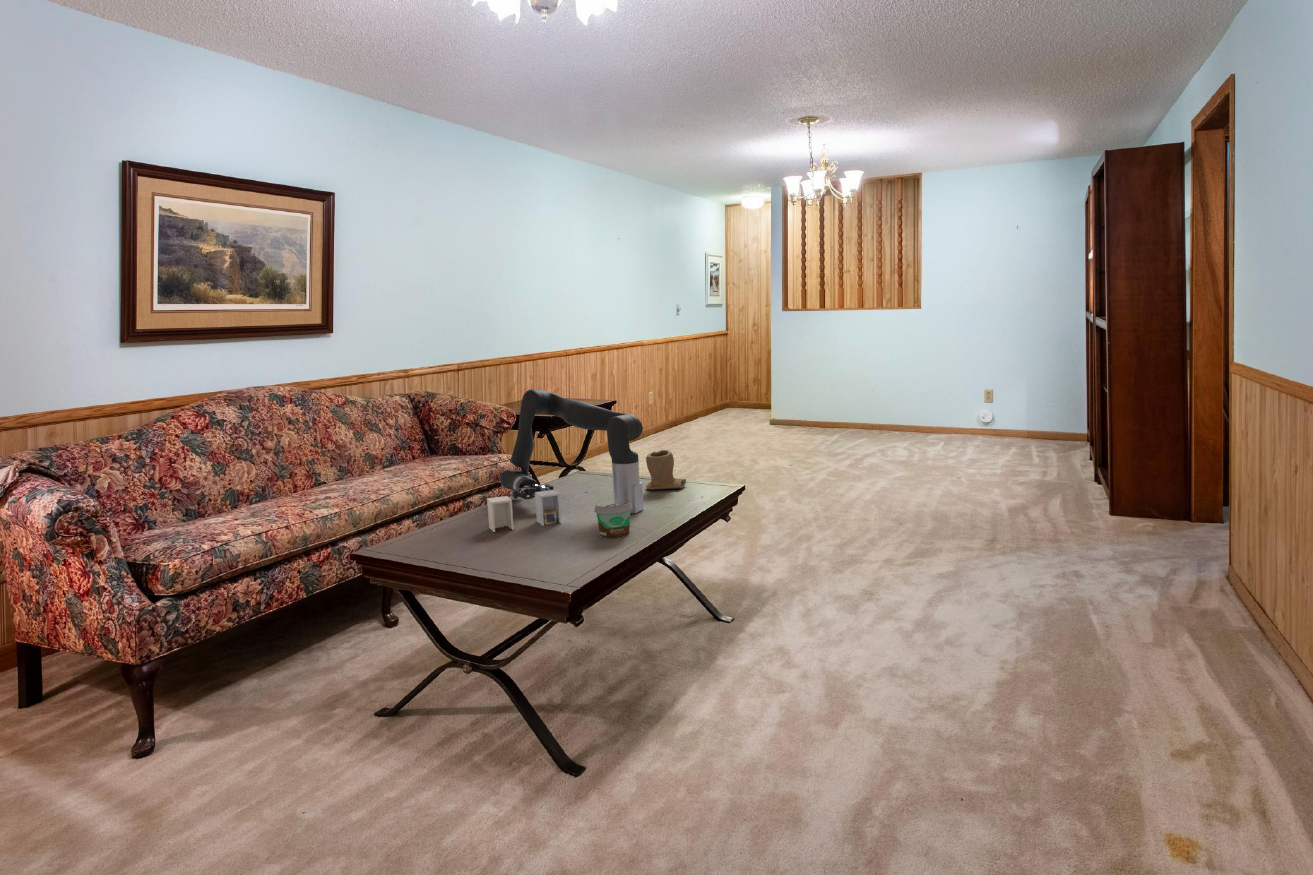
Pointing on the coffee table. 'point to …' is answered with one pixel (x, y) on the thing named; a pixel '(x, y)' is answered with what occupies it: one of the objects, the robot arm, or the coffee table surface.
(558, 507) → the cover
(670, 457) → the brown boot-shaped piece
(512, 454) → the robot arm
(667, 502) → the coffee table surface
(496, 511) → the cover
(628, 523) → the food container
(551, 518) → the letter cube
